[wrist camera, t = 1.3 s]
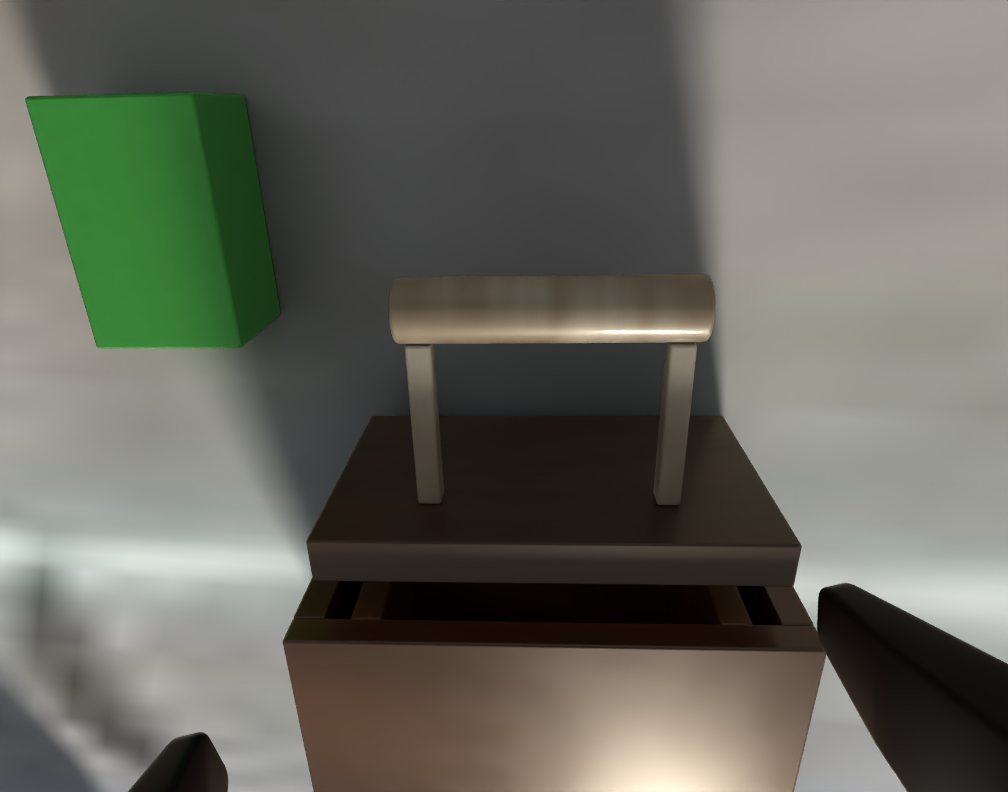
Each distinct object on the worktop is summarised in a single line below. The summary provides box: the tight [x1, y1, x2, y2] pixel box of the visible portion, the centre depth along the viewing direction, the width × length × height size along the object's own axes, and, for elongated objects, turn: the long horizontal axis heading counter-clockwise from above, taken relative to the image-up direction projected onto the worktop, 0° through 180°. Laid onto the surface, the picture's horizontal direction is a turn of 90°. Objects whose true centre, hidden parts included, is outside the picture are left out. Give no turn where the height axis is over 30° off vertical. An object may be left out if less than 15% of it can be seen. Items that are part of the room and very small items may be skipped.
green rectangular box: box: [25, 92, 281, 349], centre depth 18 cm, size 4×6×3 cm, turn 1°
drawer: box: [306, 274, 801, 625], centre depth 20 cm, size 20×11×7 cm, turn 1°
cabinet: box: [283, 577, 826, 792], centre depth 22 cm, size 16×13×9 cm
